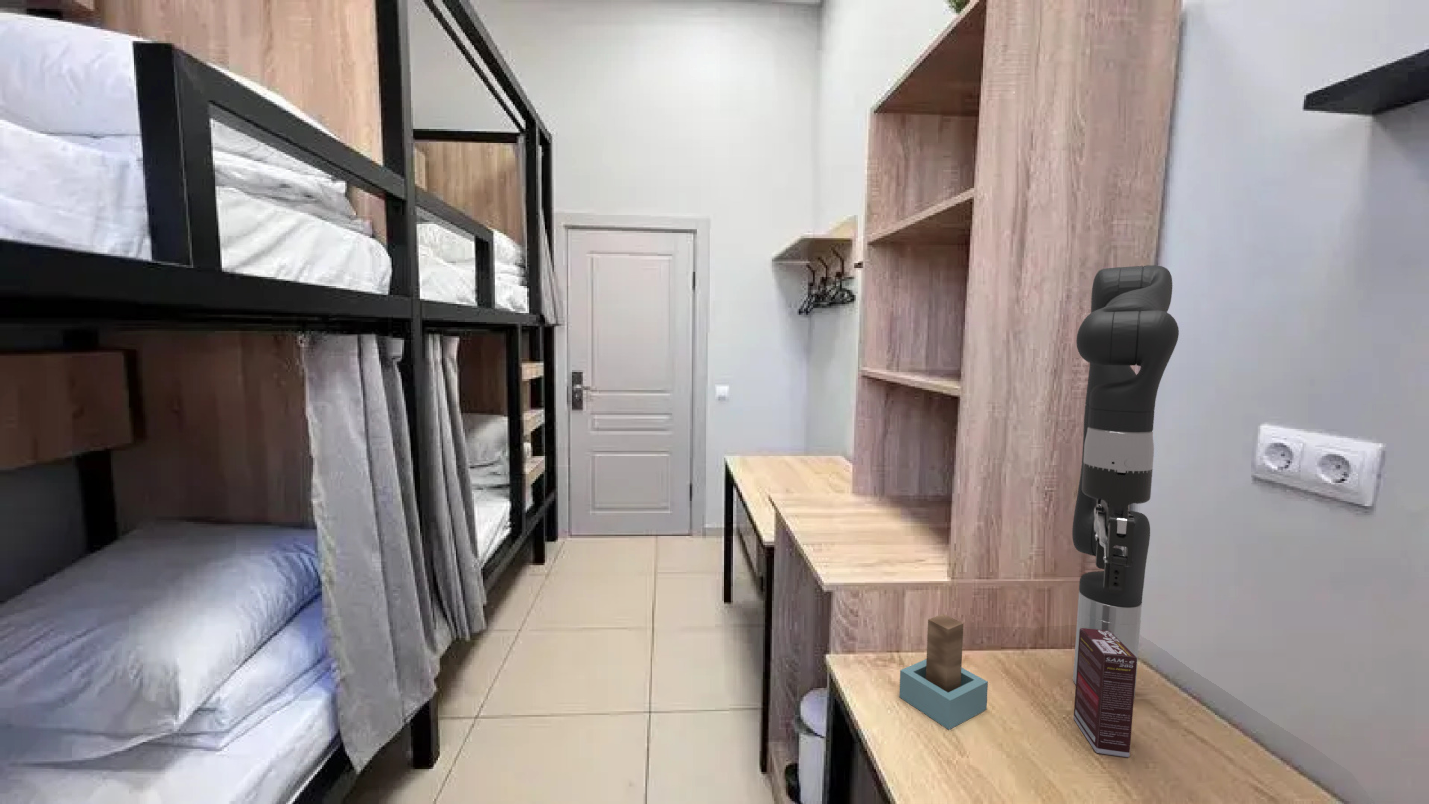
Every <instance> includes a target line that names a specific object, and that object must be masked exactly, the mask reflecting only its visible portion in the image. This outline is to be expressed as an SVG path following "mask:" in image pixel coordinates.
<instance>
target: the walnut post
mask: <svg viewBox="0 0 1429 804" xmlns="http://www.w3.org/2000/svg"><path fill="white" fill-rule="evenodd" d="M963 638H964V622H962V621H960V620H958V619H955V618H953V617H952V616H949V615H946V614H944V613H942V614H939V615H936V616H934V617H932V618H928V619H927V639H926V659H927V660H926V680H928V681H929V682H931V683H933V684H934V685H936V686H938V687H939V688H941V689H943V690H944V691H946V692H948V693H949V692H951V691H953V690H955V689H957V688H959V687H961V667H962V664H963V641H964V640H963ZM962 668H963V667H962Z"/></svg>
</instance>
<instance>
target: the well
mask: <svg viewBox="0 0 1429 804" xmlns="http://www.w3.org/2000/svg"><path fill="white" fill-rule="evenodd" d="M926 660H927V658H925V659H923V660H920V661H918V662H916V663H914V664H911V665H909V666H906V667H905V668H902V669H900V671H899V672H900V673H899V696H898V697H899V699H902V701H905V702H906V703H908V704H909V705H911V706H912V707H914V709H916V710H917V711H920V712H921V713H922V714H924V715H926V716H927V717H928V718H930V719H932V720H933V721H935V722H936V723H937V724H939V725H940V726H942V727H944V728H946V729H947V730H948V731H949V730H951V729H954V728H955V727H958V726H959V725H960V724H963V723H965V722H966V721H968V720H970V719H971V718H974V717H975V716H978V715H979V714H981V713H984V711H986V710H987V709H988V708H987V706H988V705H987V704H988V690H989V689H988V686H989V682H988V681H987V680H986V679H984V678H982V677H980V676H978V675H976V674H974V673H973V672H971V671H969V670H967V669H965V668H964V667H961V687H959V688H957V689H955V690H953V691H951V692H949V693H948V692H946V691H944V690H943V689H941V688H939V687H938V686H936V685H934V684H933V683H931V682H929V681H928V680H926Z"/></svg>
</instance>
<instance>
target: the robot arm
mask: <svg viewBox="0 0 1429 804" xmlns="http://www.w3.org/2000/svg"><path fill="white" fill-rule="evenodd" d="M1093 278H1094V279H1093V280H1092V281H1093V283H1092V288H1091V301H1090V303H1091V304H1090V311H1091V312H1090V313H1089V314H1088V315H1087V316H1086V317H1085V318H1084V319H1083V321H1082V323H1081V324H1080V326H1079V328H1078V331H1077V335H1076V349H1077V352H1078V354H1079V355H1080V357H1081V358H1082V359H1083V360H1084V361H1086V362H1087V363H1089V368H1088V379H1087V385H1086V386H1087V387H1086V395H1085V402H1084V404H1085V405H1084V413H1083V414H1084V415H1083V439H1082V455H1081V468H1080V476H1079V484H1078V487H1077V488H1078V490H1077V495H1076V501H1075V508H1074V513H1073V519H1072V520H1073V521H1072V528H1071V529H1072V531H1071V532H1072V533H1071V535H1072V542H1073V546H1074V548H1075V549H1076V550H1077V551H1078V552H1079V553H1081V554H1086V555H1089V556H1093V557H1095V565H1096V567H1097V568H1098V569H1099V570H1096V571H1088V572H1084V573H1083V574H1082V575H1081V576H1080V578H1079V584H1078V601H1077V614H1076V616H1077V617H1076V618H1077V619H1076V629H1075V630H1076V631H1075V649H1074V658H1073V659H1074V660H1073V661H1074V662H1073V672H1072V673H1073V675H1072V676H1073V677H1072V680H1073V683H1074V685H1076V676H1077V661H1078V646H1079V631H1080V628H1087V629H1098V630H1106V631H1111V632H1112V633H1113V634H1114V635H1115V636H1116V637H1117V638H1118V639H1119V640H1120V641H1121V642H1122V643H1123V644H1124V645H1125V646H1126V647H1127V648H1128V649H1129V650H1130V651H1131V652H1132V653H1133V654H1134V655H1135V656H1136V657H1137V663H1138V660H1139V659H1138V658H1139V647H1140V636H1141V634H1140V633H1141V622H1142V620H1141V619H1142V618H1141V617H1142V607H1143V606H1142V605H1143V604H1142V603H1143V595H1144V594H1143V593H1144V587H1145V586H1144V585H1145V577H1146V575H1145V574H1146V567H1147V559H1148V553H1149V548H1150V547H1149V546H1150V540H1151V539H1150V538H1151V527H1150V526H1151V524H1150V520H1149V518H1148V516H1147V515H1145V513H1142V512H1138V511H1135V510H1129V506H1130V505H1132V504H1136V505H1138V504H1139V505H1140V504H1145V503H1147V502H1149V501H1150V499H1151V496H1152V495H1151V494H1152V482H1153V481H1152V480H1153V479H1152V478H1153V470H1154V469H1153V467H1154V466H1153V465H1154V457H1155V456H1154V455H1155V453H1154V452H1155V446H1154V445H1155V444H1154V421H1155V409H1156V408H1155V407H1156V401H1157V395H1158V390H1159V387H1160V383H1161V381H1162V379H1163V375H1164V373H1165V370H1166V368H1167V366H1168V365H1169V364H1168V363H1169V362H1170V359H1171V357H1172V356H1173V353H1174V351H1175V348H1176V347H1177V343H1178V340H1179V336H1180V331H1179V325H1178V323H1177V321H1176V319H1175V317H1173V316H1172V314H1170V313H1169V309H1170V306H1171V302H1172V298H1173V297H1172V295H1173V278H1172V275H1171V272H1170V271H1169V269H1168V268H1167V267H1165V266H1162V265H1153V264H1151V265H1149V264H1148V265H1136V266H1135V265H1134V266H1133V265H1132V266H1119V267H1107V268H1101V269H1100V270H1099V271H1097V272H1096V274H1095V276H1094V277H1093ZM1132 366H1137V367H1140V368H1139V371H1138V372H1137V374H1136V372H1135V370H1134V369H1133V368H1132ZM1137 673H1138V667H1137V668H1136V676H1137ZM1136 684H1137V678H1136V679H1135V687H1136V686H1137V685H1136ZM1135 696H1136V691H1135V692H1134V698H1135Z"/></svg>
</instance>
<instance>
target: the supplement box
mask: <svg viewBox="0 0 1429 804" xmlns="http://www.w3.org/2000/svg"><path fill="white" fill-rule="evenodd" d="M1136 668H1137V669H1138V662H1137V657H1136V656H1135V655H1134V654H1133V653H1132V652H1131V651H1130V650H1129V649H1128V648H1127V647H1126V646H1125V645H1124V644H1123V643H1122V642H1121V641H1120V640H1119V639H1118V638H1117V637H1116V636H1115V635H1114V634H1113V633H1112V632H1111V631H1106V630H1098V629H1087V628H1080V631H1079V646H1078V661H1077V676H1076V684H1075V688H1074V689H1075V691H1074V706H1073V720H1074V721H1075V723H1076V725H1077V726H1078V728H1079V729H1080V731H1081V732H1082V734H1083V735H1084V737H1085V738H1086V740H1087V741H1088V742H1089V744H1090V745H1091V747H1092V749H1093V750H1094V751H1095V752H1096V754H1101V755H1108V756H1113V757H1114V756H1115V757H1123V758H1129V757H1130V755H1131V753H1130V751H1131V740H1132V739H1131V738H1132V728H1133V727H1132V726H1133V714H1134V701H1135V697H1134V692H1135V693H1136V686H1135V679H1136V680H1137V675H1136Z"/></svg>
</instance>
